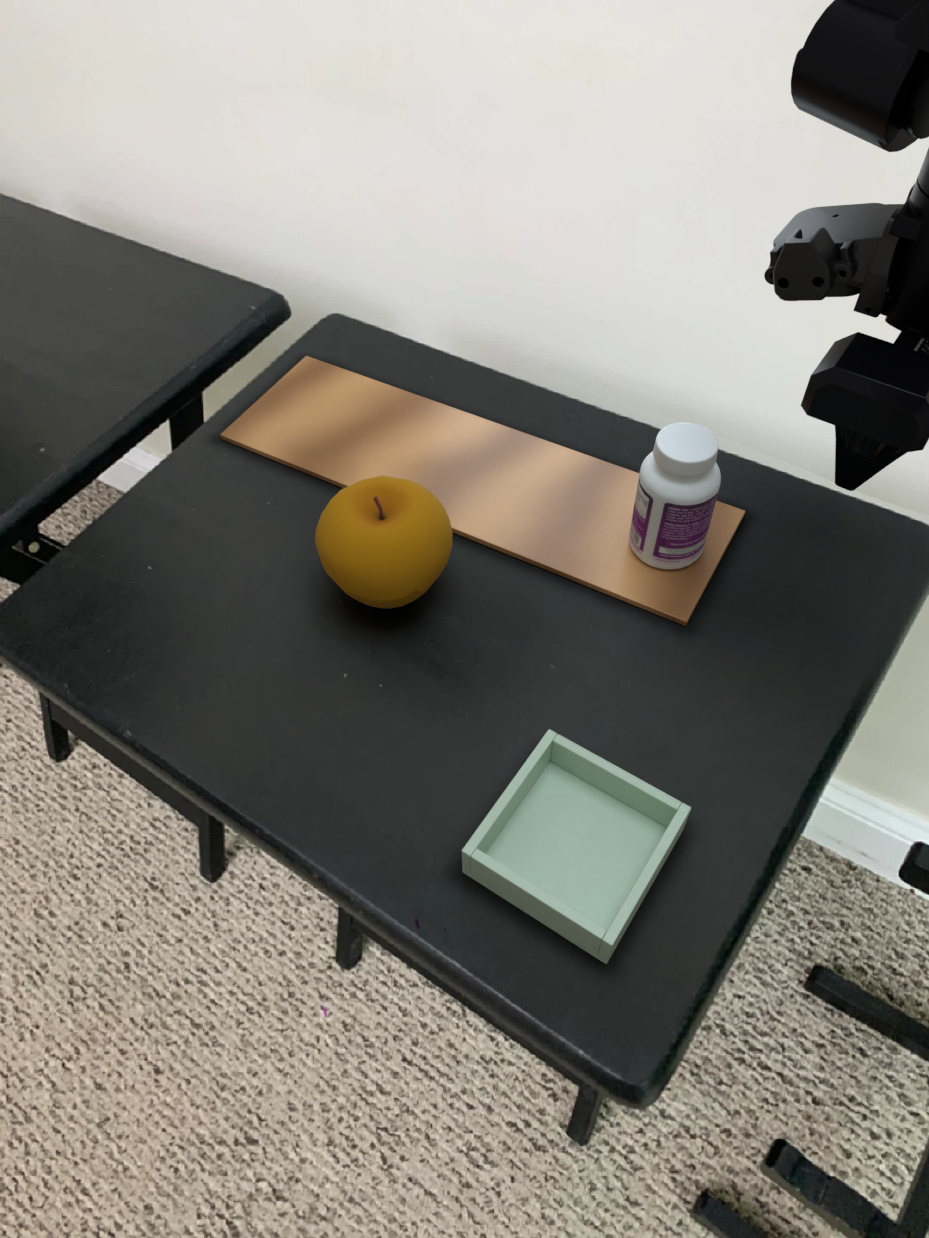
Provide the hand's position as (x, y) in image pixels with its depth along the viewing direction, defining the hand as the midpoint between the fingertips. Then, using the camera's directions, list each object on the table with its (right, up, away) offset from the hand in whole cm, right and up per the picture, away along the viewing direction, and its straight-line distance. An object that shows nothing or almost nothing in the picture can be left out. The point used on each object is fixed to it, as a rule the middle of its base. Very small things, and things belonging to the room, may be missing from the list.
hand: (871, 442), depth 56 cm
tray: (-18, -24, -3) cm, 30 cm away
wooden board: (-24, +1, +16) cm, 29 cm away
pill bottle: (-10, -5, +11) cm, 16 cm away
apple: (-30, -9, +9) cm, 32 cm away
